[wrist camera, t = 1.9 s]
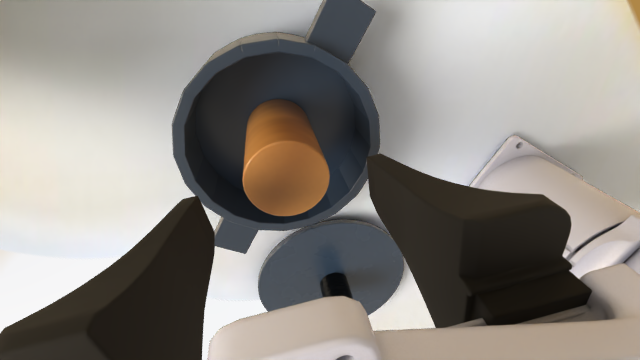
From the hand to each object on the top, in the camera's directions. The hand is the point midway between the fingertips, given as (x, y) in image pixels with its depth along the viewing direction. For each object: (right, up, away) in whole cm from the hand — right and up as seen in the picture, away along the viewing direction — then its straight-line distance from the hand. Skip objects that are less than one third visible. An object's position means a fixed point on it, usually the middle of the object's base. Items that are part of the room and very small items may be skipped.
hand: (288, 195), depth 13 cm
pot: (-1, +4, +7) cm, 8 cm away
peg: (-1, +4, +7) cm, 8 cm away
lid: (+2, -8, +14) cm, 16 cm away
